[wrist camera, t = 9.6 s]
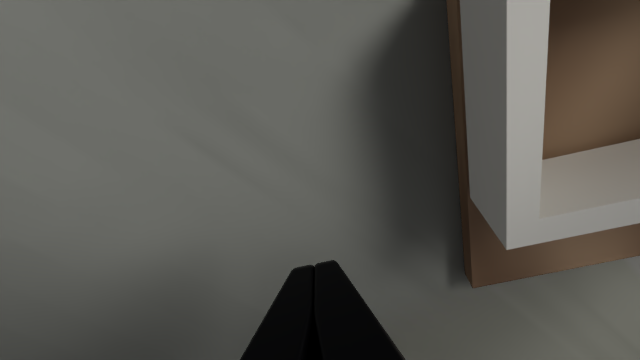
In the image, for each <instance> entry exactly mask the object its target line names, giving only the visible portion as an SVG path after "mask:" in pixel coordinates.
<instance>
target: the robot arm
mask: <svg viewBox="0 0 640 360" xmlns="http://www.w3.org/2000/svg"><path fill="white" fill-rule="evenodd" d="M240 360H405V358H404V357H403V355H402V354H401V353H400V351H399V350H398V348H397V347H396V346H395V344H394V343H393V341H392V340H391V338H390V337H389V336H388V334H387V333H386V331H385V330H384V328H383V327H382V326H381V324H380V323H379V321H378V320H377V318H376V317H375V316H374V314H373V313H372V311H371V310H370V308H369V307H368V306H367V304H366V303H365V301H364V300H363V298H362V297H361V296H360V294H359V293H358V291H357V290H356V288H355V287H354V286H353V284H352V283H351V281H350V280H349V278H348V277H347V276H346V274H345V273H344V271H343V270H342V269H341V267H340V266H339V264H338V263H337V262H336V261H334V260H331V261H326V262H321V263H317V264H316V265H315V267H314V266H313V265H307V266H302V267H297V268H294V269H293V270H292V271H291V272H290V274H289V276H288V278H287V279H286V281H285V283H284V285H283V286H282V288H281V290H280V291H279V293H278V295H277V297H276V298H275V300H274V302H273V304H272V305H271V307H270V309H269V310H268V312H267V314H266V316H265V317H264V319H263V321H262V323H261V324H260V326H259V328H258V329H257V331H256V333H255V335H254V336H253V338H252V340H251V342H250V343H249V345H248V347H247V348H246V350H245V352H244V354H243V355H242V357H241V359H240Z"/></svg>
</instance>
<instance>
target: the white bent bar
mask: <svg viewBox="0 0 640 360" xmlns="http://www.w3.org/2000/svg"><path fill="white" fill-rule="evenodd" d="M549 14H550V0H460V15H461V34H462V53H463V72H464V91H465V110H466V128H467V147H468V166H469V185H470V198H471V200H472V201H473V202H474V204H475V205H476V207H477V208H478V210H479V211H480V212H481V214H482V215H483V217H484V218H485V220H486V221H487V223H488V224H489V225H490V227H491V228H492V230H493V231H494V233H495V234H496V236H497V237H498V238H499V240H500V241H501V243H502V244H503V246H504V247H505V249H506V250H509V249H514V248H519V247H524V246H529V245H534V244H539V243H544V242H549V241H554V240H559V239H564V238H568V237H573V236H578V235H583V234H588V233H593V232H598V231H603V230H608V229H613V228H618V227H623V226H628V225H633V224H638V223H640V139H636V140H632V141H627V142H623V143H618V144H613V145H609V146H604V147H600V148H595V149H591V150H586V151H581V152H577V153H572V154H568V155H563V156H558V157H554V158H549V159H545V160H542V153H543V133H544V113H545V93H546V73H547V54H548V34H549Z"/></svg>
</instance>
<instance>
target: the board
mask: <svg viewBox="0 0 640 360" xmlns="http://www.w3.org/2000/svg"><path fill="white" fill-rule="evenodd" d="M447 15H448V30H449V44H450V59H451V74H452V89H453V103H454V118H455V133H456V148H457V162H458V177H459V192H460V206H461V221H462V236H463V251H464V265H465V274H466V276H467V278H468V280H469V282H470V284H471V286H472V288H477V287H482V286H487V285H492V284H497V283H502V282H507V281H512V280H517V279H522V278H527V277H533V276H538V275H543V274H548V273H553V272H558V271H563V270H568V269H573V268H578V267H583V266H588V265H594V264H599V263H604V262H609V261H614V260H619V259H624V258H629V257H634V256H639V255H640V223H638V224H633V225H628V226H623V227H618V228H613V229H608V230H603V231H598V232H593V233H588V234H583V235H578V236H573V237H568V238H564V239H559V240H554V241H549V242H544V243H539V244H534V245H529V246H524V247H519V248H514V249H509V250H506V249H505V247H504V246H503V244H502V243H501V241H500V240H499V238H498V237H497V236H496V234H495V233H494V231H493V230H492V228H491V227H490V225H489V224H488V223H487V221H486V220H485V218H484V217H483V215H482V214H481V212H480V211H479V210H478V208H477V207H476V205H475V204H474V202H473V201H472V200H471V198H470V185H469V166H468V147H467V128H466V110H465V91H464V72H463V53H462V34H461V15H460V0H447ZM636 139H640V0H550V14H549V34H548V54H547V73H546V93H545V113H544V133H543V153H542V160H545V159H549V158H554V157H558V156H563V155H568V154H572V153H577V152H581V151H586V150H591V149H595V148H600V147H604V146H609V145H613V144H618V143H623V142H627V141H632V140H636Z"/></svg>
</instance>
